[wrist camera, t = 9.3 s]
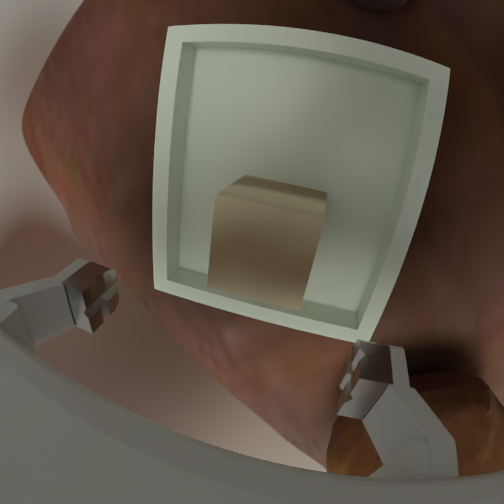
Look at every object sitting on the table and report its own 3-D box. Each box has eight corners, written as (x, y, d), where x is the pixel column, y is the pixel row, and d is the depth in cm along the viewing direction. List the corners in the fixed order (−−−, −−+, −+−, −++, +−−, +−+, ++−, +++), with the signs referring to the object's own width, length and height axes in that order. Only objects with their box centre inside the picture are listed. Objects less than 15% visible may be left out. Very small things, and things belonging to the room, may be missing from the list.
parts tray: (189, 35, 14) (168, 26, 12) (434, 74, 12) (450, 68, 10) (171, 271, 21) (154, 288, 19) (365, 320, 19) (367, 345, 17)
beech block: (245, 174, 16) (215, 195, 12) (327, 192, 15) (324, 219, 12) (235, 247, 18) (207, 286, 14) (308, 265, 18) (299, 311, 14)
